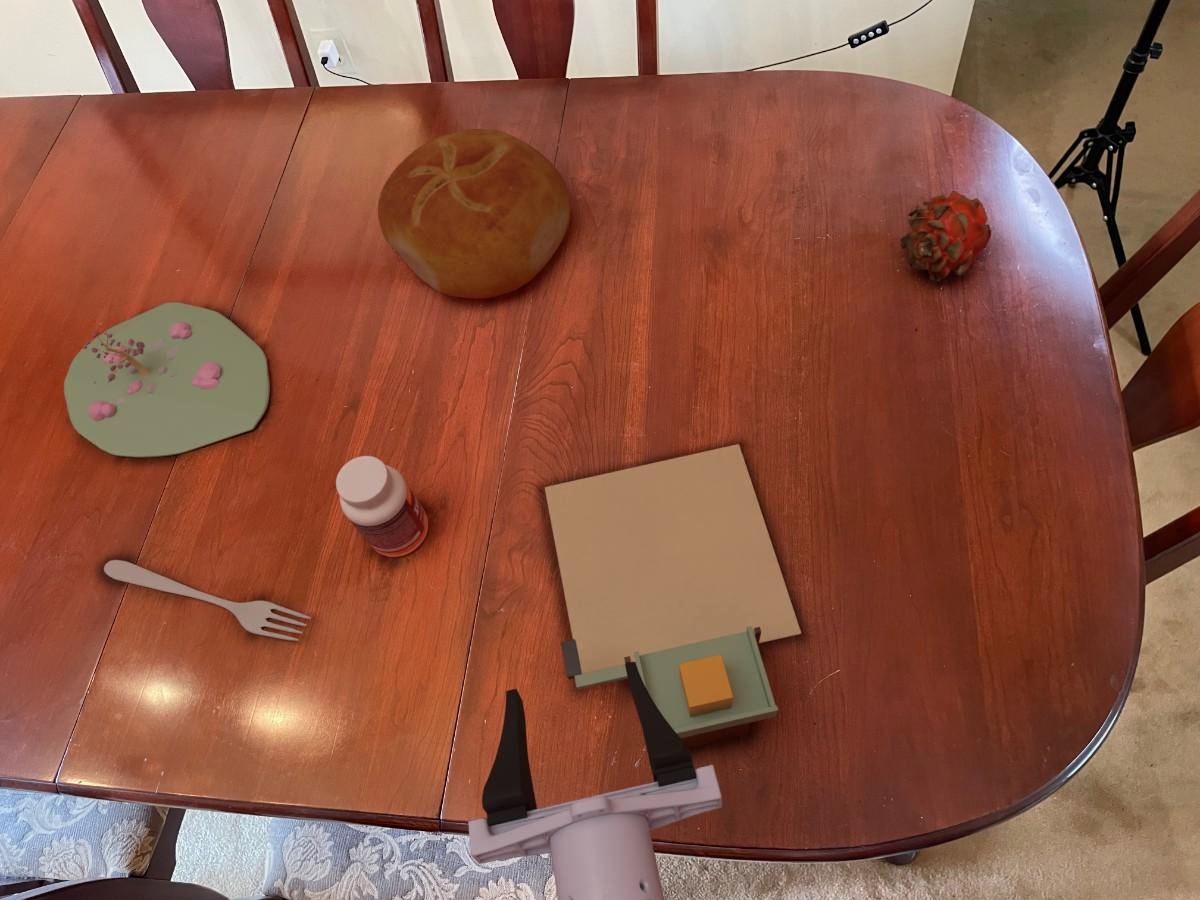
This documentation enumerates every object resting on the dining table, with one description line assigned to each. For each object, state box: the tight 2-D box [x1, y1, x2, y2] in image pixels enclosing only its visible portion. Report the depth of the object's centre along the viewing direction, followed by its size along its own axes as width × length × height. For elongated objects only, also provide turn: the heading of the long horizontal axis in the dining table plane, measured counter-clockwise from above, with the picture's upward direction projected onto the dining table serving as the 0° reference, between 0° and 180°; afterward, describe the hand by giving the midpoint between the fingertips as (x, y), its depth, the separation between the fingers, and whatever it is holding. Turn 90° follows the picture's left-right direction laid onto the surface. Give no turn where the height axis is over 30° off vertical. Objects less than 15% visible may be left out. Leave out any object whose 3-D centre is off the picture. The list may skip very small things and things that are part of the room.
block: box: [679, 654, 733, 717], centre depth 66 cm, size 3×3×3 cm
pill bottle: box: [335, 455, 429, 558], centre depth 80 cm, size 6×6×11 cm
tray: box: [560, 626, 779, 738], centre depth 68 cm, size 10×16×2 cm, turn 101°
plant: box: [63, 301, 271, 459], centre depth 93 cm, size 25×21×9 cm
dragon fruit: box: [899, 190, 992, 283], centre depth 92 cm, size 8×8×12 cm
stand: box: [624, 627, 761, 749], centre depth 71 cm, size 7×12×6 cm, turn 101°
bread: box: [377, 128, 572, 300], centre depth 99 cm, size 23×23×10 cm
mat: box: [544, 443, 802, 674], centre depth 80 cm, size 20×20×1 cm
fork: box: [103, 559, 312, 642], centre depth 82 cm, size 3×24×2 cm, turn 71°
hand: (572, 682), depth 54 cm, fingers open, 7 cm apart
